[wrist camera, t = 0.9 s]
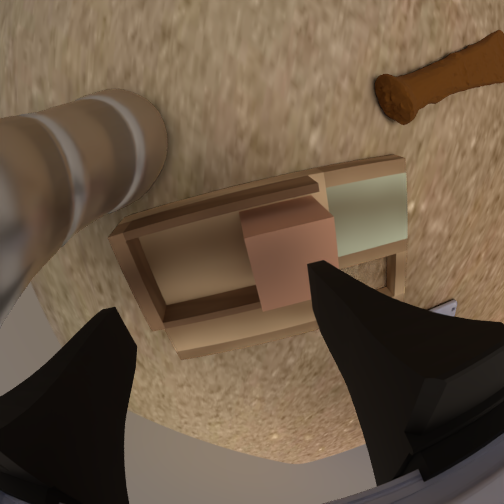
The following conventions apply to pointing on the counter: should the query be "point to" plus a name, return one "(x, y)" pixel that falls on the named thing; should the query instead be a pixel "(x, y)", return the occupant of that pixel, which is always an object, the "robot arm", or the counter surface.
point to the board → (237, 260)
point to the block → (287, 248)
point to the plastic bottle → (70, 176)
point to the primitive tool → (442, 78)
